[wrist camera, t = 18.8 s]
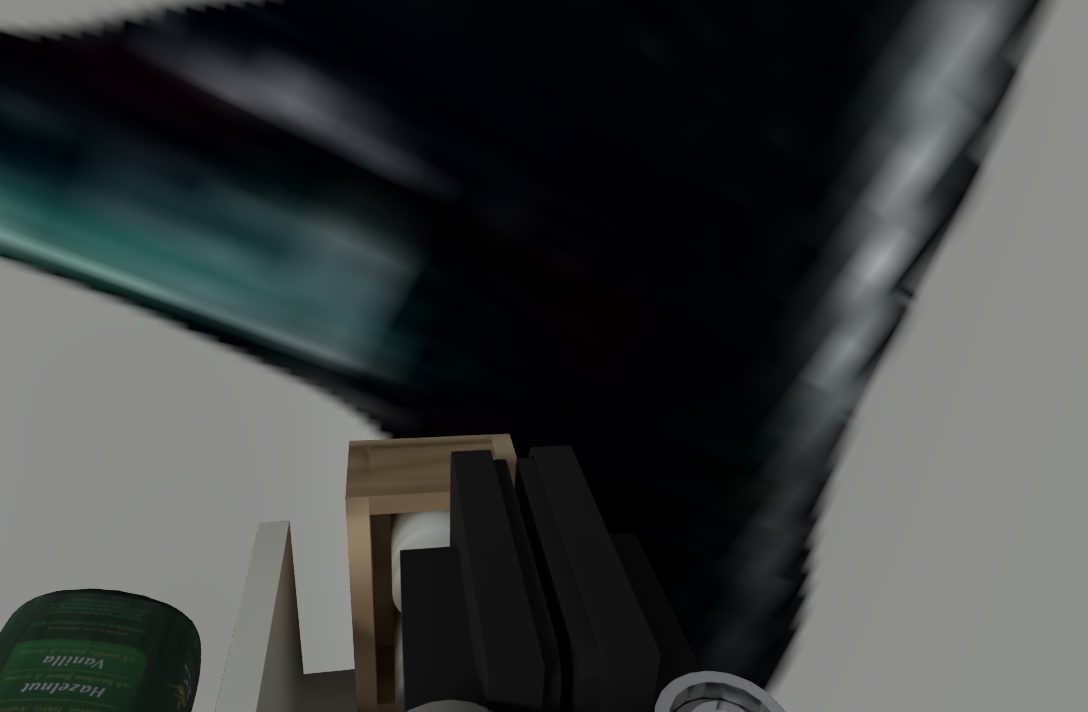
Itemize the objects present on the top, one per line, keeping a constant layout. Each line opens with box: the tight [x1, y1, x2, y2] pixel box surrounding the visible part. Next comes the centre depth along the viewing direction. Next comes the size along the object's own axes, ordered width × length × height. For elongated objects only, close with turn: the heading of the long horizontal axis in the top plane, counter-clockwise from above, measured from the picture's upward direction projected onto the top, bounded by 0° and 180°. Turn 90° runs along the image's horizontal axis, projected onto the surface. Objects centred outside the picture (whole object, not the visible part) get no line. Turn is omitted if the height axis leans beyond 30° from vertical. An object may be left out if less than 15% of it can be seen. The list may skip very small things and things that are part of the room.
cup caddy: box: [345, 434, 517, 712], centre depth 32 cm, size 11×6×6 cm, turn 177°
